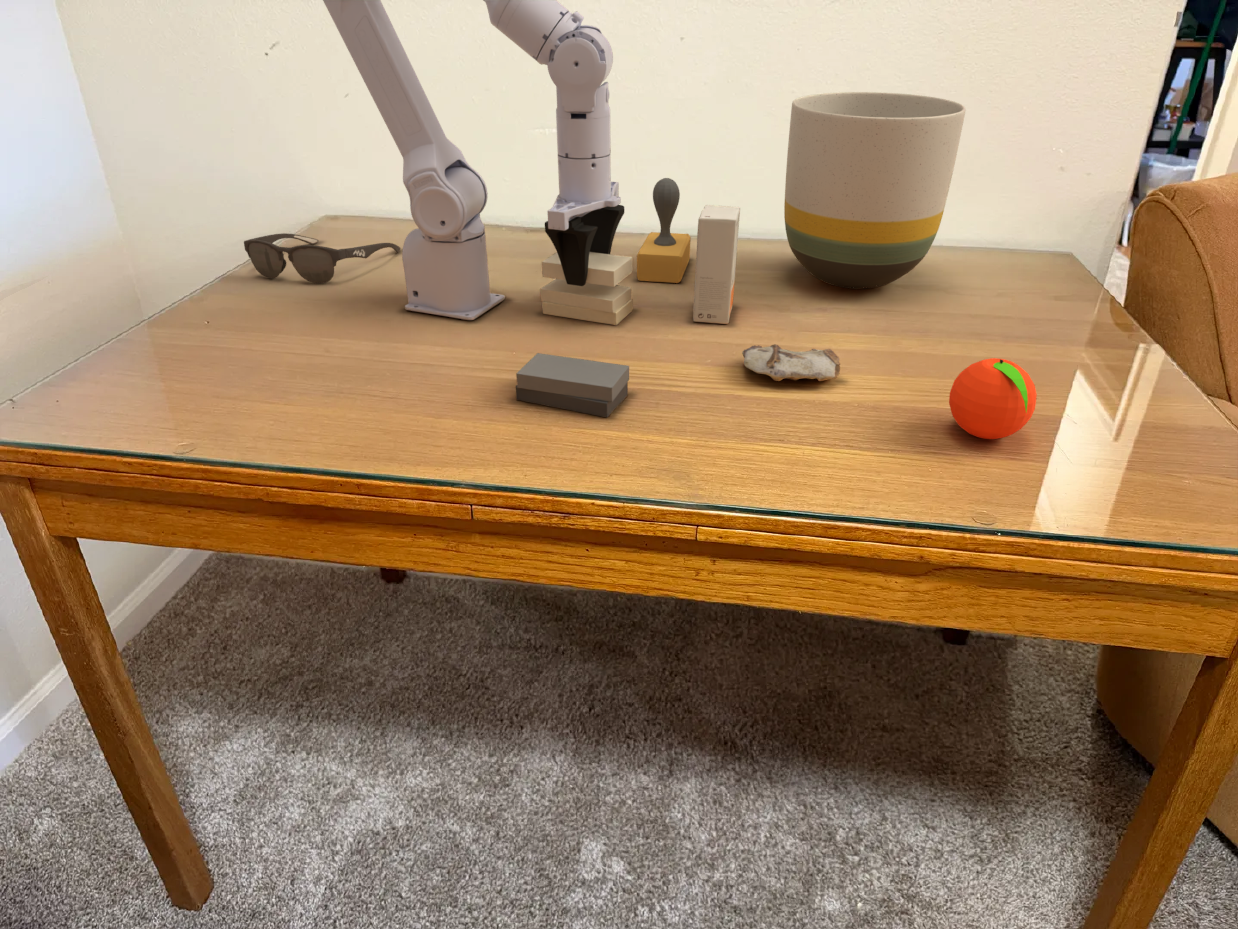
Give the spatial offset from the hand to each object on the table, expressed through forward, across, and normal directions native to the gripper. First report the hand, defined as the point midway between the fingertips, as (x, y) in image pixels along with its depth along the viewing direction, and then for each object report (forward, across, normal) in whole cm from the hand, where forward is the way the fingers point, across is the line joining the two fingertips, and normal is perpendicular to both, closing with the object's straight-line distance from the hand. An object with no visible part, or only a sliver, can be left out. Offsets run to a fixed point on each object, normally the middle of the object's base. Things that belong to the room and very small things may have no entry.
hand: (587, 276), depth 98 cm
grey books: (+4, -21, -8) cm, 23 cm away
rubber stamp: (+5, +18, -3) cm, 19 cm away
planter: (+5, +23, -27) cm, 36 cm away
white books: (+4, 0, 0) cm, 4 cm away
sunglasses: (+5, +3, +41) cm, 41 cm away
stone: (+5, -8, -26) cm, 28 cm away
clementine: (+5, -14, -45) cm, 47 cm away
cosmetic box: (+5, +5, -14) cm, 16 cm away
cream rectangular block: (0, 0, 0) cm, 0 cm away
